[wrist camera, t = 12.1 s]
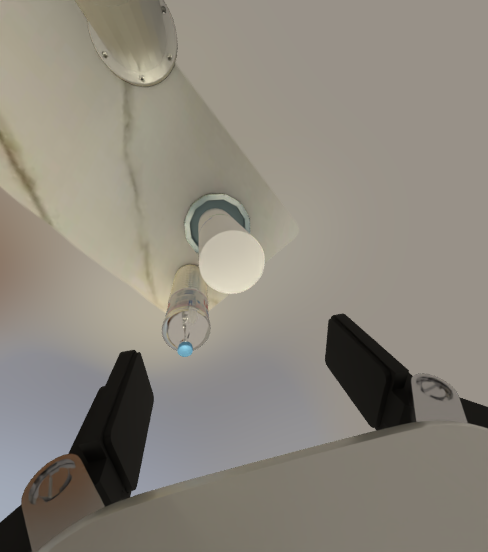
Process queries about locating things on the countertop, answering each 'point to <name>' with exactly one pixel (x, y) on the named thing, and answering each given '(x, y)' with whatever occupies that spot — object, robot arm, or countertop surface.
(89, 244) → the countertop surface
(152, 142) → the countertop surface
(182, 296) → the water bottle
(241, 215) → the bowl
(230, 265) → the cylindrical container
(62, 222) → the countertop surface
